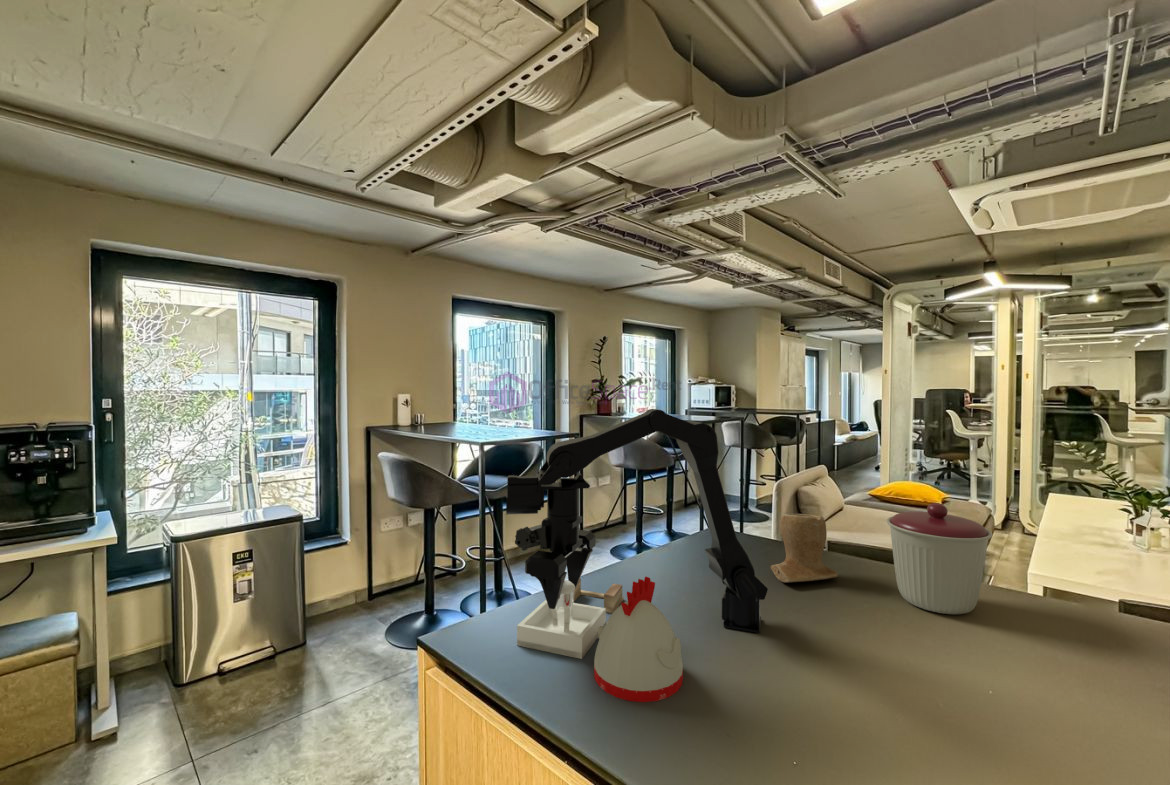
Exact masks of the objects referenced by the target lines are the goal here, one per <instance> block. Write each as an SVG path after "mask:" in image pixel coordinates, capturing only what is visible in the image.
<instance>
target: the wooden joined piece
mask: <svg viewBox="0 0 1170 785" xmlns="http://www.w3.org/2000/svg"><path fill="white" fill-rule="evenodd" d="M580 596H586V597H593V598H599V599H603V608H606V613H609V614H612V613H613V612H614V611H615V610H616V609H617V608H618V607H619V606H621V605H622V604H621V602H624V600H625V599H624V598H625V597H624V596H623V584H618V583H613V584H611V586H610V587H608V590H606V592H605V593H601V592H596V591H590V590H589V591H588V590H583V589H582V579H581V578H580V579H579V582H578V584H577V586H576V588H575V593H574V602H575V601H576V600H577V599H578V598H579V597H580Z"/></svg>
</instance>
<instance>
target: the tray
mask: <svg viewBox="0 0 1170 785" xmlns="http://www.w3.org/2000/svg"><path fill="white" fill-rule="evenodd" d="M606 618H607V612H606V608H604V607H599V606H593V605H589V604H582V603H577V602H574V603H573V616H572V630H571V633H565V632H560V631H555V630H553V622H552V609H550V608H549V607H548V604H547V600H546V599H545V600H544V601H542V602H541V604H539V605H538V606H537V607H536V608H535V609H534V610H533V611H532V612H530V613H529V614H528V615H527V616H526V617H525V618H524V619H523V620H522V621H520V622H519V623H518V624H517V625H516V646H519V647H524V648H528V649H533V650H536V651H543V652H547V653H551V654H557V655H560V656H561V655H562V656H565V657H570V658H575V659H579V660H583V659H584V657H585V656H586V654H587V653H588V651H590V649H591V647H592V646H593V645H594V644H595V642H596V640H598V639H599V637H598V631H599V627H600V626H602V627H604V626H605V624H606V623H607V620H606Z"/></svg>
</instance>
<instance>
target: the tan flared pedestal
mask: <svg viewBox="0 0 1170 785" xmlns="http://www.w3.org/2000/svg"><path fill="white" fill-rule="evenodd" d="M780 519H781V520H780V532H781V536H782V541H783V544H784V550H785V559H784V561H782V562H781V563H776V564H772V565H770V569H771V572H772V573H773V574H774V576H775V578H776V579H777V580H778V581H780V582H781V583H800V582H802V583H803V582H813V581H821V580H830V579H833V578H837V577H838V576H839V574H838V573H837V572H836V571H835V570H834V569H832V568H830V567H828V566H827V565H825V564H824V563H823V553H824V549H825V547H826V544H827V533H828V532H827V522H826V520H825V519H824V517H823V516H820V515H814V514H805V513H784V514H783V515H782V516H781V518H780Z"/></svg>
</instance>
